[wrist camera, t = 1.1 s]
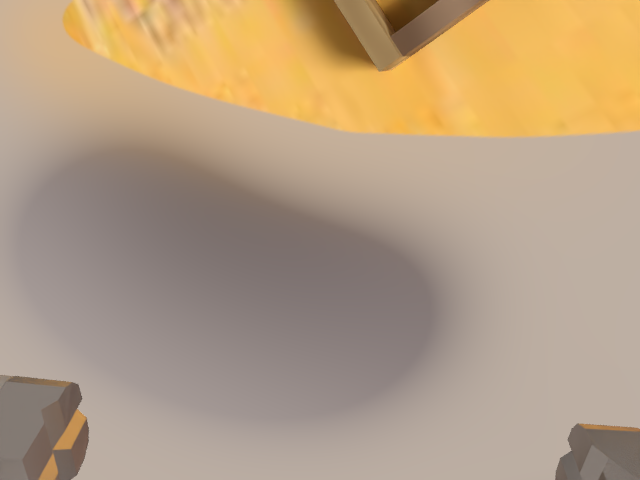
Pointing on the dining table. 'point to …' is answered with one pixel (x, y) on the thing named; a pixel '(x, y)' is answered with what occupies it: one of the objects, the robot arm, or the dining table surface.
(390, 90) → the dining table surface
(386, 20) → the guide rail
